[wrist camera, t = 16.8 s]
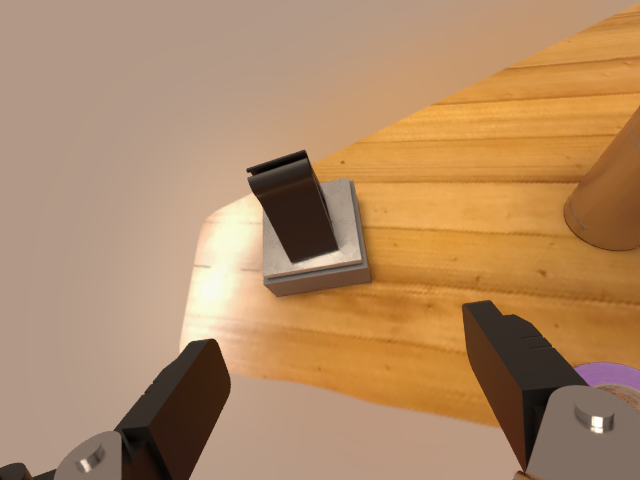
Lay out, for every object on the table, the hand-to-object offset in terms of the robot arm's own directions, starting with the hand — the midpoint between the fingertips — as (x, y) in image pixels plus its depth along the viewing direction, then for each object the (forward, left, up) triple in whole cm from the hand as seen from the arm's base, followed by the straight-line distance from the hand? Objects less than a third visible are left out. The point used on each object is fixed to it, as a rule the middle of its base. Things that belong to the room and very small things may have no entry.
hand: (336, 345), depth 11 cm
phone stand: (+6, -19, -24) cm, 32 cm away
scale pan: (+6, -20, -25) cm, 33 cm away
